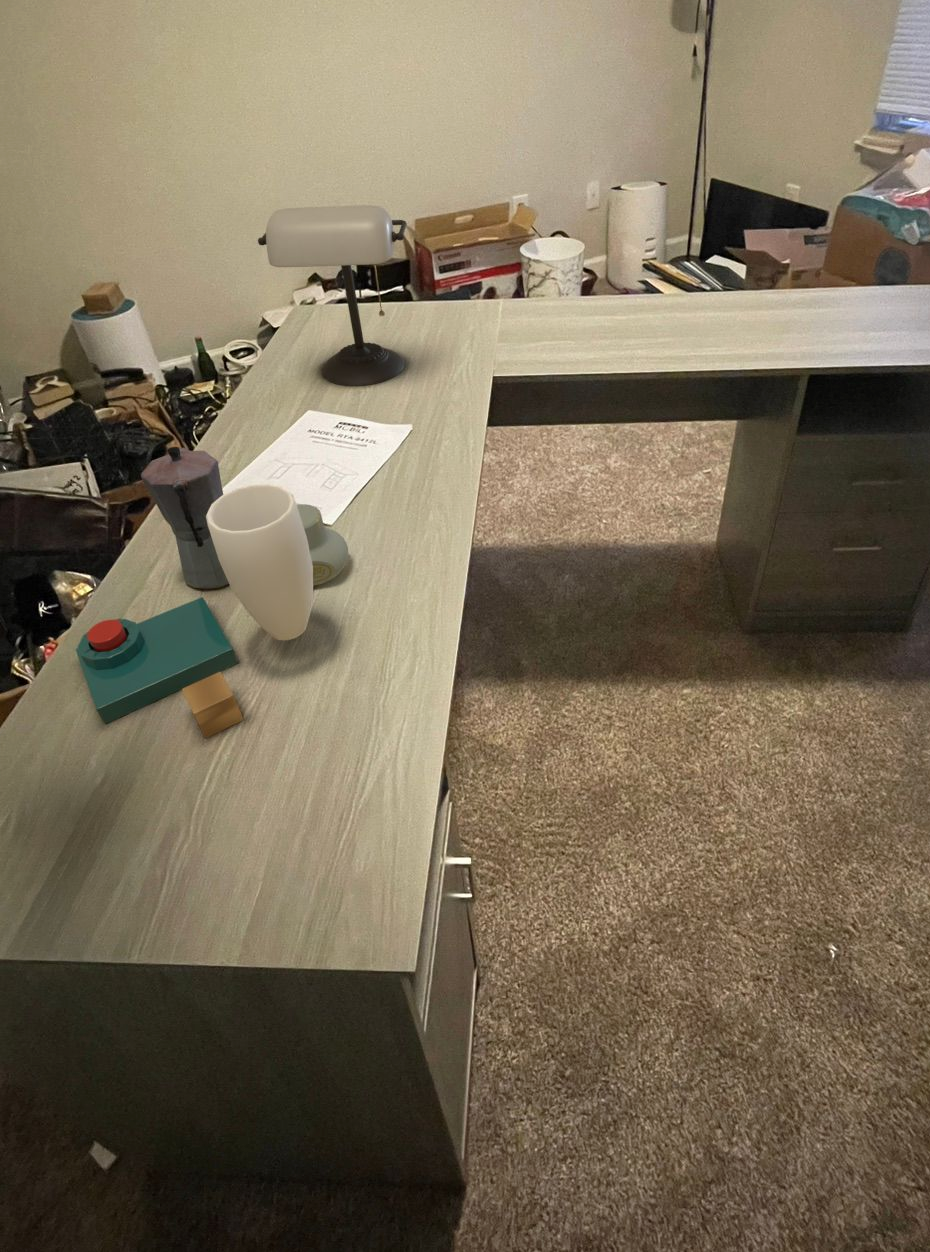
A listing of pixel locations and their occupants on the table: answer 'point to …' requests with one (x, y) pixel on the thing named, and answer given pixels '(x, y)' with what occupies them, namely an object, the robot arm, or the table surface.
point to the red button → (107, 635)
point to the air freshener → (323, 545)
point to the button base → (155, 659)
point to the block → (213, 704)
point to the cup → (265, 556)
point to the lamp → (342, 243)
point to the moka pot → (189, 510)
